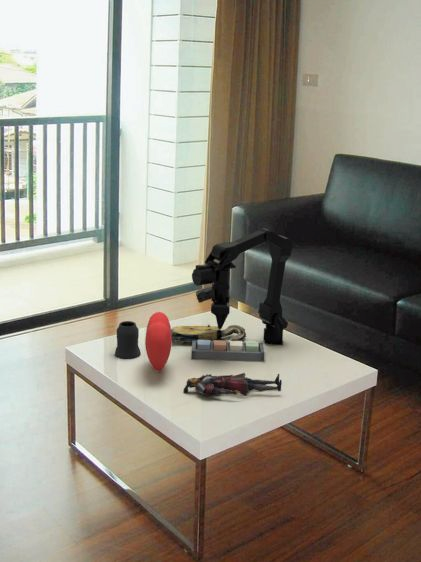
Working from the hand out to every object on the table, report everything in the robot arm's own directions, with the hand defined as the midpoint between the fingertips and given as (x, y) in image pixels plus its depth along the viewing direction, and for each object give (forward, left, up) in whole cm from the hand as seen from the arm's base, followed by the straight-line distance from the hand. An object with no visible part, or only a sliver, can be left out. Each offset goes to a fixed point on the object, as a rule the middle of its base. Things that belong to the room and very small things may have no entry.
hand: (219, 324), depth 256 cm
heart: (+20, +16, -11) cm, 28 cm away
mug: (+32, +1, -11) cm, 34 cm away
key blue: (+5, 0, -9) cm, 11 cm away
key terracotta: (0, 0, -9) cm, 9 cm away
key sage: (-11, 0, -9) cm, 15 cm away
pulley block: (+5, -14, -12) cm, 19 cm away
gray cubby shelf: (-3, 0, -11) cm, 11 cm away
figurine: (-4, +30, -11) cm, 33 cm away
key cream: (-6, 0, -9) cm, 11 cm away
